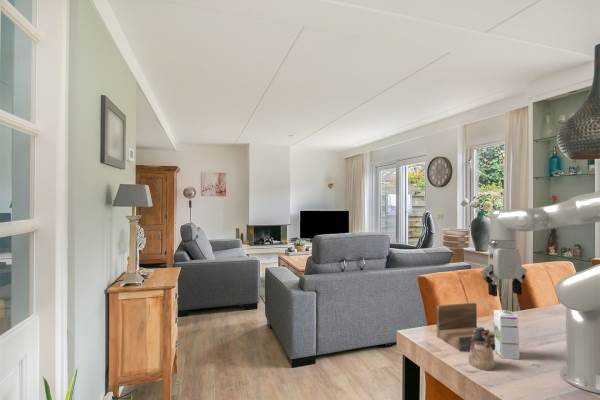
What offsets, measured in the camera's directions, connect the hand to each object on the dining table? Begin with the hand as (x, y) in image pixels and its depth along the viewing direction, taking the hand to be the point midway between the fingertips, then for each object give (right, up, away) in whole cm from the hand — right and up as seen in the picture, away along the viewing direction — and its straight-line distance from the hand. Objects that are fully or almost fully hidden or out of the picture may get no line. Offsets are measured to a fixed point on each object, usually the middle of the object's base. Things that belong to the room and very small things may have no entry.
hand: (505, 294), depth 109 cm
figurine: (-13, -20, -8) cm, 25 cm away
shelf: (-8, -21, +9) cm, 24 cm away
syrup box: (0, -21, -1) cm, 21 cm away
